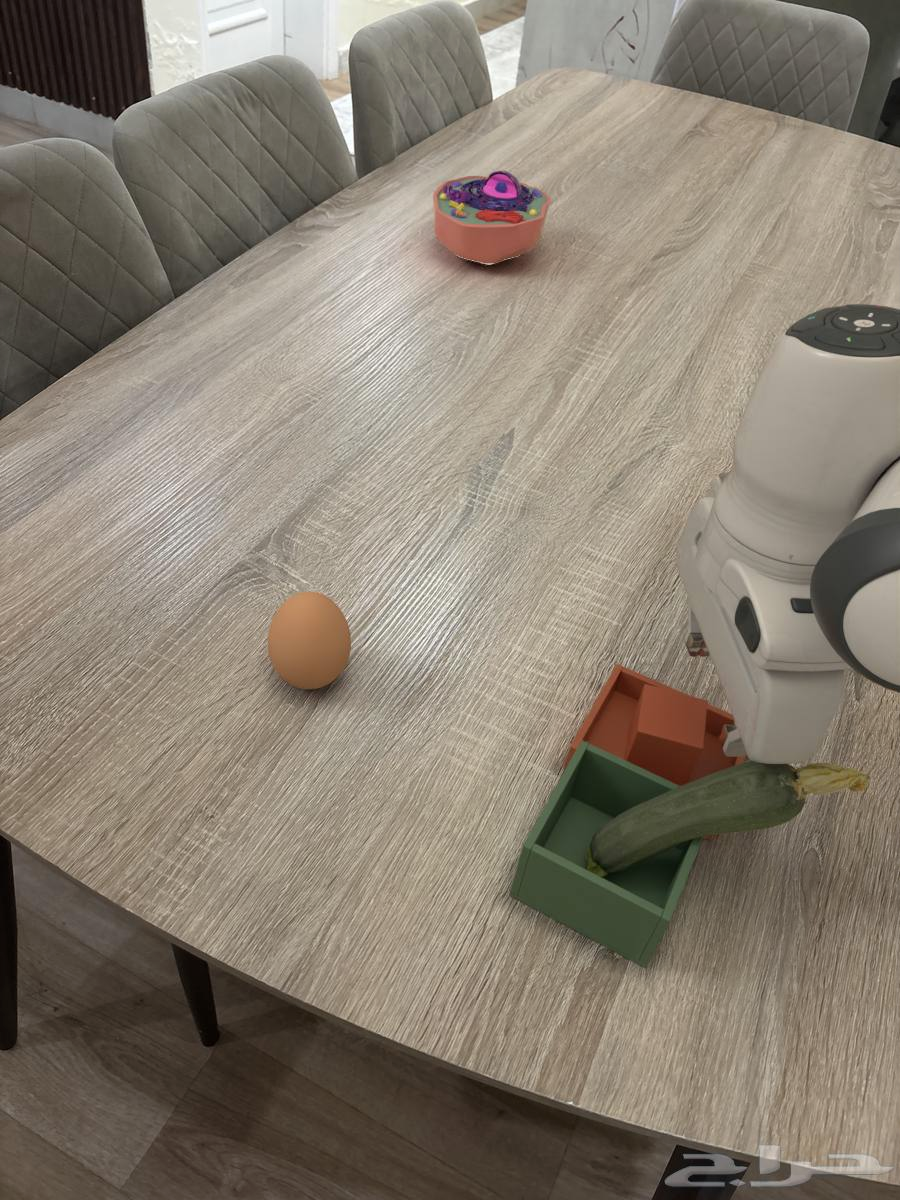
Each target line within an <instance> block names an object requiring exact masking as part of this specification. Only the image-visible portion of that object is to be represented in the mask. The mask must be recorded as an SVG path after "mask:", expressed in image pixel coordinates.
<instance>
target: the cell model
mask: <svg viewBox="0 0 900 1200" xmlns="http://www.w3.org/2000/svg"><path fill="white" fill-rule="evenodd" d="M432 201H433V202H432V208H433V218H434V223H433V224H434V226H433V227H434V234H435V236H436V238H437V240H438V241H439V242H440V243H441V244H442V245H443V246H444V247H445V248H446V249H447V250H448V251H449V252H451V253H452V254H453V253H454V254H456V255H458V256H460V257H463V258H466V259H470V260H474V261H479V262H483V263H497V262H500V261H502V260H504V259H508V258H512V257H516V256H519V255H522V254H524V253H526V254H527V253H529V252H530V251H531V250H533V248H535V247H536V246H537V245H538V244H539V243H540V240H541V238H542V233H543V230H544V227H545V222H546V218H547V215H548V211H549V209H550V205H551V203H552V201H551V197H550V196H549V195H548V194H547V193H546V192H545V191H543V190H542V189H540V188H538V187H536V186H534V185H531V184H527V183H523V182H520V181H519V179H518V178H517V177H516V176H515V175H513V174H512V173H511V172H509V171H507V170H495V171H493V172H491V173H490V174H489V175H488V176H483V175H466V176H464V177H458V178H456V179H455V178H454V179H451V180H445V181H444V182H442V183H441V184H440V185H439V186H438V187H437V188H436V189H435V191H434V193H433V195H432ZM454 254H453V255H454ZM456 255H455V256H456ZM524 255H525V254H524ZM466 261H468V260H466ZM468 262H469V261H468ZM470 262H472V261H470ZM472 263H473V262H472ZM474 263H476V262H474ZM476 264H477V263H476ZM485 266H486V267H488V266H487V265H485Z"/></svg>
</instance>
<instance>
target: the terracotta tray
mask: <svg viewBox="0 0 900 1200" xmlns="http://www.w3.org/2000/svg"><path fill="white" fill-rule="evenodd" d="M645 684H647V685H651V686H655V687H659V688H662V689H666V690H670V691H674V692H678V693H681V694H685V695H689V696H691V695H690V694H687V693H685V692H683V691H680V690H678V689H676V688H675V687H671V686H669V685H666V684H665V683H662V682H660V681H658V680H655V679H654V678H651V677H648V676H647V675H644V674H642V673H639V672H637V671H635V670H633V669H631V668H628V667H625V666H624V665H622V664H620V663H616V664H615V666H614V668H613V669H612V672H611V673H610V675H609V677H608V679H607V680H606V682H605V683H604V686H603V687H602V689H601V691H600V693H599V694H598V696H597V698H596V699H595V702H594V703H593V705H592V707H591V708H590V710H589V712H588V714H587V715H586V717H585V719H584V721H583V722H582V724H581V726H580V728H579V730H578V731H577V733H576V735H575V737H574V739H573V740H572V742H571V744H570V745H569V747H568V748H569V749H568V752H567V755H566V759H565V762H564V765H563V770H564V771H565V769H566V767H567V766H568V764H569V762H570V760H571V758H572V757H573V755H574V753H575V751H576V750H577V748H578V746H579V744H580V742H581V741H582V740H583V741H585V742H587V743H589V744H592V745H594V746H596V747H598V748H600V749H602V750H604V751H606V752H609V753H611V754H613V755H615V756H617V757H619V758H621V759H623V760H624V759H625V753H626V747H627V741H628V735H629V729H630V723H631V720H632V717H633V715H634V712H635V709H636V707H637V704H638V701H639V698H640V696H641V693H642V690H643V687H644V685H645ZM730 724H733V725H735V723H734V718H733V715H732V713H730V712H728V711H726V710H723V709H721V708H719V707H716V705H715V706H714V705H712V704H710V703H708V702H707V713H706V725H705V736H704V747H703V751H702V753H701V755H700V757H699V759H698V761H697V763H696V766H695V768H694V770H693V772H692V774H691V776H690V779H689V781H688V783H690V782H693V781H696V780H698V779H700V778H703V777H705V776H707V775H710V774H712V773H715V772H718V771H721V770H724V769H727V768H729V767H732V766H735V765H738V764H741V763H745V761H746V758H747V757H748V755H746V756H742V757H727V756H725V754H724V751H723V748H722V745H721V742H720V739H719V736H720V734H721V732H722V729H723V726H724V725H730ZM714 836H715V835H709V836H704V837H703V838H704V839H707V840H709V841H712V839H713V838H714Z"/></svg>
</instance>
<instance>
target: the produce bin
mask: <svg viewBox="0 0 900 1200" xmlns="http://www.w3.org/2000/svg"><path fill="white" fill-rule="evenodd" d="M677 787H680V786H679V785H677V784H674V783H672V782H670V781H668V780H666V779H664V778H662V777H660V776H657V775H655V774H653V773H651V772H649V771H647V770H645V769H643V768H640V767H638V766H636V765H634V764H632V763H630V762H628V761H626V760H623V759H621V758H619V757H617V756H615V755H613V754H611V753H609V752H606V751H604V750H602V749H600V748H598V747H596V746H594V745H592V744H589V743H587V742H585V741H583V740H582V741H581V742H580V744H579V746H578V748H577V750H576V751H575V753H574V755H573V757H572V758H571V760H570V762H569V764H568V766H567V767H566V769H565V770H564V771H563V773H562V775H561V776H560V778H559V780H558V782H557V784H556V785H555V787H554V789H553V790H552V793H551V794H550V796H549V798H548V800H547V802H546V803H545V805H544V807H543V808H542V811H541V812H540V814H539V816H538V817H537V819H536V821H535V823H534V825H533V827H532V828H531V830H530V832H529V834H528V836H527V837H526V839H525V841H524V843H523V844H522V847H521V851H520V855H519V859H518V862H517V865H516V869H515V873H514V876H513V880H512V883H511V887H510V891H509V893H508V895H509V896H510V897H511V898H513V899H515V900H517V901H519V902H521V903H523V904H525V905H526V906H528V907H530V908H532V909H534V910H536V911H538V912H540V913H542V914H543V915H546V916H547V917H549V918H551V919H553V920H555V921H557V922H558V923H561V924H562V925H564V926H566V927H568V928H570V929H572V930H573V931H575V932H577V933H578V934H580V935H583V936H585V937H587V938H589V939H590V940H592V941H594V942H596V943H598V944H599V945H601V946H603V947H605V948H607V949H609V950H611V951H612V952H615V953H617V954H618V955H620V956H622V957H623V958H626V959H628V960H629V961H631V962H633V963H635V964H637V965H639V966H641V967H643V968H645V969H646V968H647V966H648V964H649V963H650V960H651V958H652V956H653V955H654V953H655V951H656V949H657V947H658V945H659V943H660V941H661V940H662V938H663V936H664V934H665V932H666V930H667V929H668V926H669V925H670V923H671V921H672V919H673V916H674V913H675V910H676V908H677V906H678V903H679V901H680V898H681V895H682V893H683V890H684V888H685V885H686V883H687V880H688V878H689V875H690V872H691V870H692V867H693V865H694V862H695V860H696V857H697V854H698V852H699V849H700V847H701V844H702V842H703V839H704V838H705V837H704V836H703V837H698V838H694V839H691V840H688V841H685V842H682V843H680V844H678V845H677V846H675V847H673V848H671V849H669V850H667V851H665V852H663V853H661V854H658V855H656V856H654V857H652V858H650V859H647V860H645V861H643V862H641V863H639V864H636V865H635V866H633V867H631V868H629V869H627V870H624V871H617V872H614V873H609V874H608V875H606V876H603V877H600V876H598V875H596V874H594V873H592V872H590V871H588V870H587V869H586V867H587V865H588V861H587V860H586V856H587V851H588V849H589V847H590V843H591V841H592V837H593V836H594V834H595V833H596V832H597V830H598V829H600V828H601V827H602V826H603V825H605V824H606V823H608V822H609V821H611V820H612V819H614V818H615V817H617V816H618V815H620V814H621V813H623V812H625V811H627V810H629V809H630V808H632V807H634V806H637V805H639V804H641V803H644V802H646V801H648V800H651V799H653V798H655V797H657V796H660V795H662V794H664V793H666V792H668V791H671V790H673V789H675V788H677Z"/></svg>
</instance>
